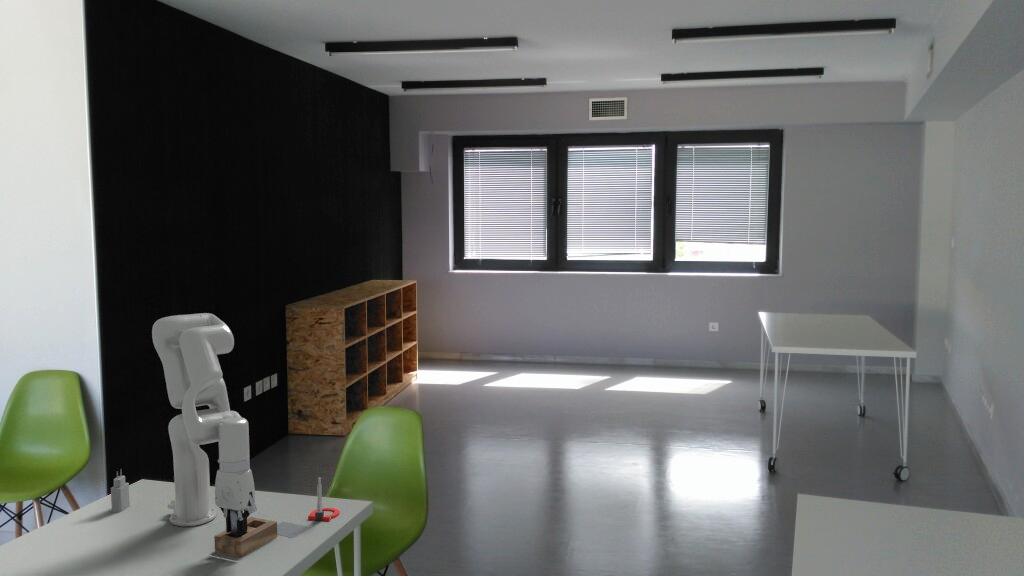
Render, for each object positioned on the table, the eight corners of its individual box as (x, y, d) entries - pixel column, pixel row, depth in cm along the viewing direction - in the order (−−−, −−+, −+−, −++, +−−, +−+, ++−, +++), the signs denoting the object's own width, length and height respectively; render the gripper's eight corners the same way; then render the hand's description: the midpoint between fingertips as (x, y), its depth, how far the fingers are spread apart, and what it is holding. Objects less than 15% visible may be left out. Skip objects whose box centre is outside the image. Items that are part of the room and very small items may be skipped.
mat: (264, 532, 219) (264, 531, 219) (282, 522, 227) (282, 521, 227) (292, 538, 215) (292, 537, 215) (311, 528, 223) (311, 527, 223)
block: (214, 552, 207) (214, 535, 206) (251, 532, 220) (251, 516, 219) (241, 558, 203) (241, 541, 203) (277, 537, 216) (276, 521, 216)
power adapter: (110, 511, 234) (108, 473, 233) (121, 505, 240) (119, 467, 238) (120, 512, 234) (118, 473, 233) (130, 505, 239) (129, 467, 238)
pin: (226, 544, 207) (225, 505, 206) (236, 538, 211) (235, 500, 210) (237, 546, 206) (236, 507, 205) (247, 541, 209) (246, 502, 208)
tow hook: (317, 510, 237) (304, 521, 228) (317, 468, 236) (304, 477, 227) (343, 512, 236) (332, 523, 227) (343, 470, 235) (332, 479, 226)
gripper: (200, 465, 206) (202, 532, 208) (249, 473, 199) (251, 542, 201) (221, 456, 213) (223, 521, 215) (269, 464, 206) (270, 531, 208)
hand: (236, 531), depth 208 cm, fingers closed on pin, 3 cm apart
